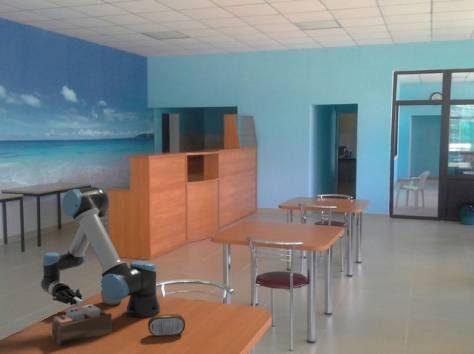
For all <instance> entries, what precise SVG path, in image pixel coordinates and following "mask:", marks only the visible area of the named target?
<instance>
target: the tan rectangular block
mask: <svg viewBox="0 0 474 354" xmlns="http://www.w3.org/2000/svg"><path fill="white" fill-rule="evenodd" d="M53 321H55V322H56V323H57V324H59V325H60V326H61V325H65V324H69V323H73V320H72V319H70V318H69V317H67V316H66V314H61V315H57V316H53Z"/></svg>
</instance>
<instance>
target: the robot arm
mask: <svg viewBox="0 0 474 354" xmlns="http://www.w3.org/2000/svg"><path fill="white" fill-rule="evenodd" d="M61 207H62V211H63V213H64V215H66V216H68V217H72V218H73V220H74V223H77V224H79V227H78V229H77V232H76V233H75V236H74V237H73V240H72V242H71V244H70V246H69V249H68V251H67V253H64V254H60V253H59V252H54V251H53V252H46V253H45V254H44V255H43V257H42V259H43V260H42V265H43V266H42V267H43V268H42V269H43V277H42V279H41V281H40V287H41V289H42V290H43V292H45V293H46V294H47V293H48V294H49V295H50V296H52V300H53V301H57V302H60V303H63V304H66V305H68V304H69V305H70V306H73V305H75V306H77V307H78V308H82V306H84V300H83V298H82V297H83V295H82V294H81V292H80V289H76V290H74V289H72V288H70V286H69V285H68V284H66V283H65V282H63V281H62V280H61V271H66V270H68V269H72V268H77V267H80V266H82V265H84V264H85V262H86V255H85V252H86V250H87V248H88V246H89V245H90V247H91V248H92V251H93V253H94V255H95V257H96V258H97V261H98V263H99V265H100V267H101V269H102V272H101V274H100V275H101V277H102V278H101V281H100V284H101V285H100V289H101V288H102V291H103V293H104V294H105V295H106V296H107V297H108V298H110V299H113V300H118V299H123V300H124V299H125V298H126V297H129V296H130V297H129V298H128V301H127V306H126V314H127V315H129V316H130V317H134V318H149V317H153V316H155V315H159V314H160V313H161V305H160V302H159V299H158V297H157V266H156V264H155V263H153V262H151V261H150V262H149V261H146V260H145V261H141V260H139V261H138V260H136V261H131V262H130V263H129V266H128V264H127V262H126V261H123V260H121V258H120V256H119V254H118V252H117V250H116V248H115V246H114V244H113V242H112V240H111V238H110V236H109V234H108V233H107V231H106V228H105V226H104V225H103V223H102V221H101V220H102V218H104V217H105V216H106V214H107V212H108V209H109V207H110V200H109V196H108V194H107V193H106V191H105V190H104V189H103V188H100V187H95V186H92V187H91V186H90V187H84V188H74V189H70V190H67V191H66V192H65V193H64V194H63V197H62V201H61Z"/></svg>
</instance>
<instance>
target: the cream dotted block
mask: <svg viewBox="0 0 474 354" xmlns="http://www.w3.org/2000/svg"><path fill="white" fill-rule="evenodd" d="M100 310H101V308H100V307H97V306H95V305H94V304H92V303H91V304H87V305H83V306H82V307H81V311H82V312H84V314H88V315H89V316H91V317H92V318H93V317H97V316H100Z"/></svg>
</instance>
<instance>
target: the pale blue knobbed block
mask: <svg viewBox="0 0 474 354" xmlns="http://www.w3.org/2000/svg"><path fill="white" fill-rule="evenodd" d="M65 315H66V316H67V317H69V318H71V319H73V320H74V321H76V322H77V321H81V320H84V312H82V309H79V308H77V307H73V308H68V309H65Z"/></svg>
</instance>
